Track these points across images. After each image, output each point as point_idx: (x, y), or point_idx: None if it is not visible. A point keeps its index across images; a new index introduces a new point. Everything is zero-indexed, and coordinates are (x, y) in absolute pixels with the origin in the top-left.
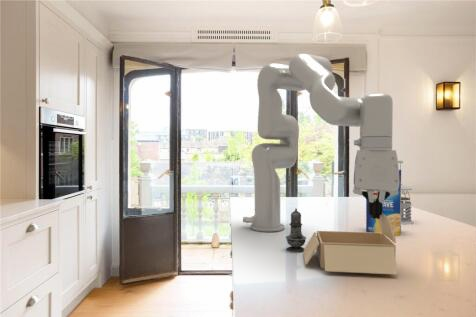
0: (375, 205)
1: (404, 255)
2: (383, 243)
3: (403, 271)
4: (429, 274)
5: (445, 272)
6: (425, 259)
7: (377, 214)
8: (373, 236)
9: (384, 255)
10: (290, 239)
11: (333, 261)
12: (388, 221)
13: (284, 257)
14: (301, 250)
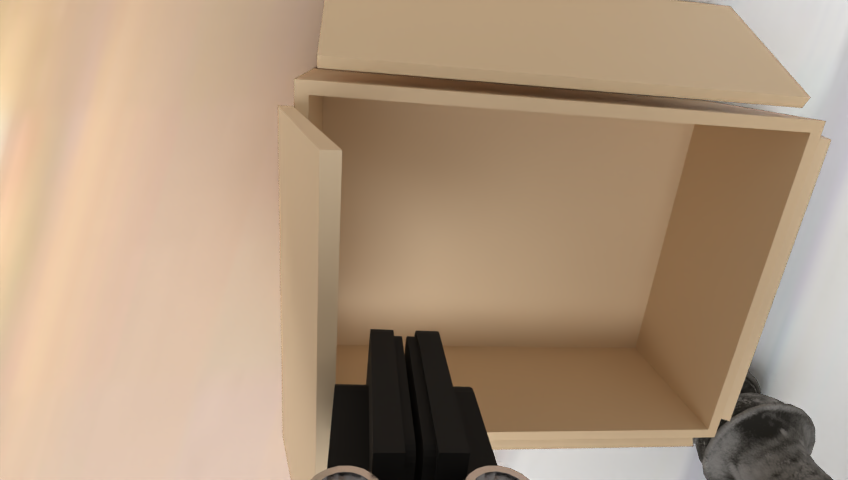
0: (436, 422)
1: (171, 381)
2: None
3: (258, 102)
4: (114, 56)
5: (3, 100)
6: (65, 326)
7: (396, 354)
8: None
9: (396, 24)
10: (803, 411)
11: (706, 30)
12: (332, 142)
13: (812, 281)
14: None
